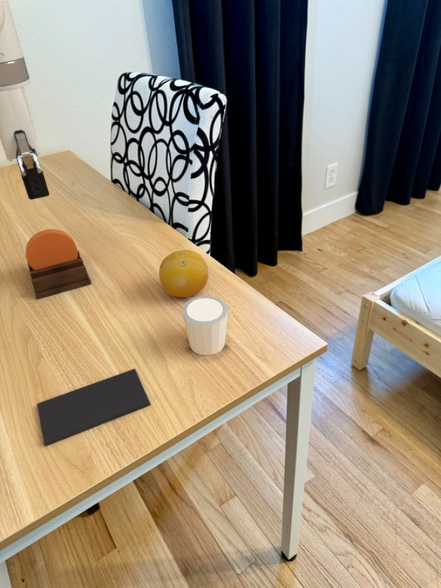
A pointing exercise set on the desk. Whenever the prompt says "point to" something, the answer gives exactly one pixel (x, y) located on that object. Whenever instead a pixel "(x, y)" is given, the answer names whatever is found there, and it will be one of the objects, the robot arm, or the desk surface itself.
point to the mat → (91, 406)
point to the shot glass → (206, 324)
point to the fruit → (183, 273)
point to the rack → (59, 278)
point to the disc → (50, 249)
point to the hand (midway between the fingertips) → (35, 185)
